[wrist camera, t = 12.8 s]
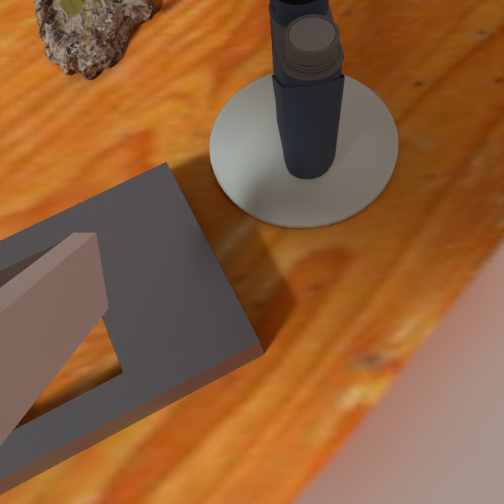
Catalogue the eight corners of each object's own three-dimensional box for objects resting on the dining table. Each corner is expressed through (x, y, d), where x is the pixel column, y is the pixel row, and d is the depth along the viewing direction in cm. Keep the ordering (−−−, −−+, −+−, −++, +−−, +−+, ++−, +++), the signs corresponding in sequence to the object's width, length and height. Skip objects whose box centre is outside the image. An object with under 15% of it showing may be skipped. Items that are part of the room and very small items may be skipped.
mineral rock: (29, -61, 32) (130, -105, 29) (74, -8, 36) (167, -43, 33) (-5, 67, 28) (108, 30, 25) (49, 111, 32) (153, 83, 29)
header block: (-149, 346, 24) (-197, 334, 21) (178, 188, 26) (166, 161, 23) (-120, 558, 20) (-174, 571, 18) (264, 353, 22) (260, 341, 19)
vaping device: (318, 99, 26) (332, -156, 15) (338, 179, 24) (371, -50, 13) (271, 107, 26) (252, -142, 15) (287, 188, 24) (279, -34, 13)
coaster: (182, 120, 27) (180, 114, 27) (334, 49, 28) (335, 42, 28) (262, 262, 23) (262, 258, 23) (435, 174, 24) (438, 168, 24)
